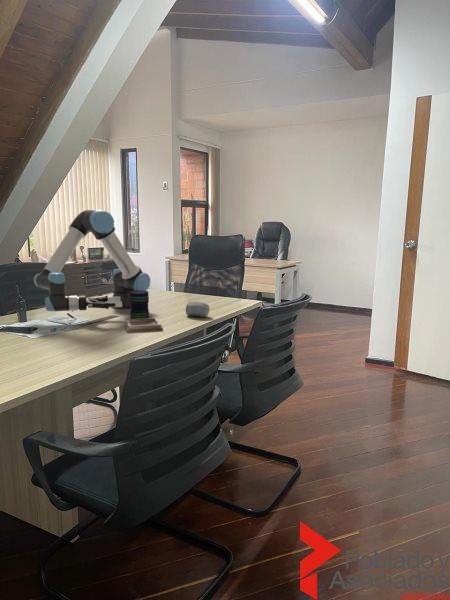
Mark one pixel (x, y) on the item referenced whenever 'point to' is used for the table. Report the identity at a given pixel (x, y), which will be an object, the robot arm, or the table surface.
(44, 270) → the robot arm
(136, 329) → the cradle plate
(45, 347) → the table surface
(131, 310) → the rusty blue barrel
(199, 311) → the spool
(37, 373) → the table surface
